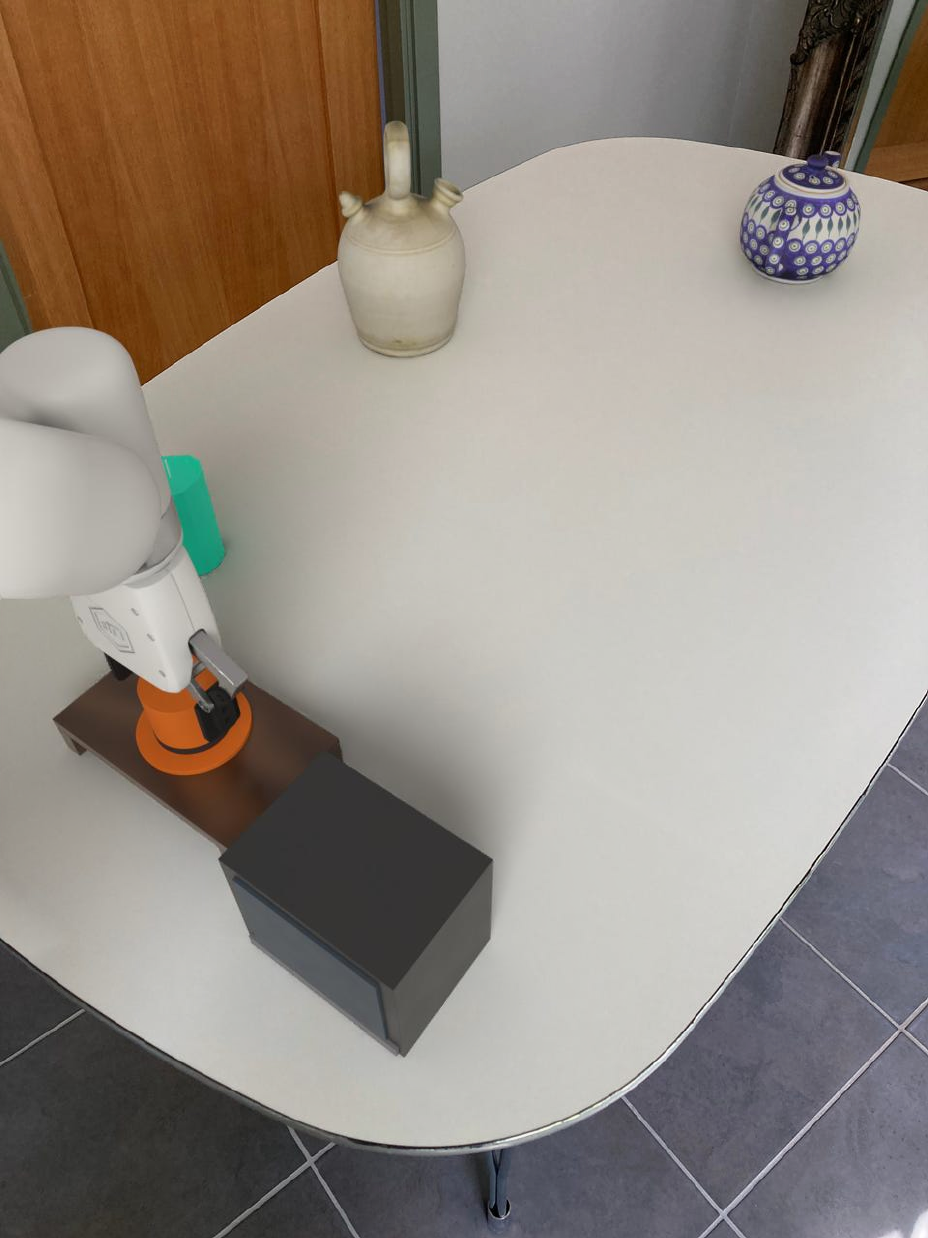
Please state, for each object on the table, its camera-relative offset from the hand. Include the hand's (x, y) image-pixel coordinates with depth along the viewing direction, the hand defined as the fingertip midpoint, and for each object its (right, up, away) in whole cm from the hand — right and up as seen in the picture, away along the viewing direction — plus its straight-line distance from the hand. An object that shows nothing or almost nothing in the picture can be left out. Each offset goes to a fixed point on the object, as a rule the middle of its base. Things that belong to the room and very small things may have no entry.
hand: (177, 697), depth 72 cm
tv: (+15, -17, -3) cm, 23 cm away
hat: (0, -3, +4) cm, 5 cm away
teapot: (+66, +54, +59) cm, 104 cm away
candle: (-5, +12, +23) cm, 26 cm away
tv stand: (0, -5, +7) cm, 9 cm away
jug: (+14, +42, +49) cm, 67 cm away
